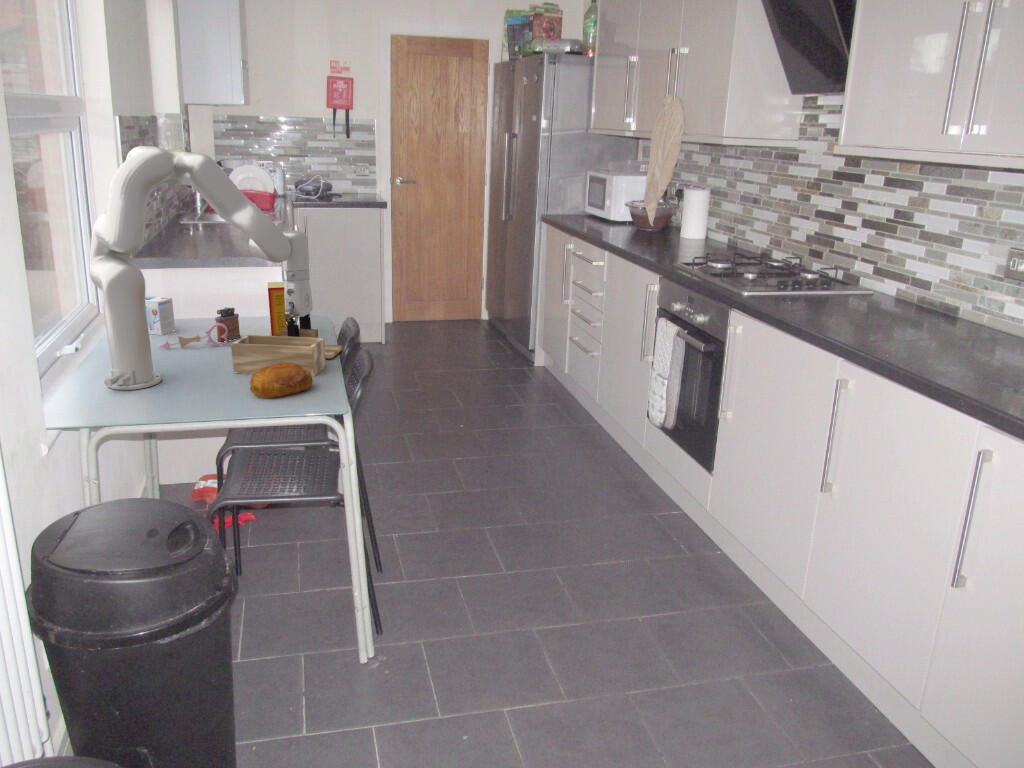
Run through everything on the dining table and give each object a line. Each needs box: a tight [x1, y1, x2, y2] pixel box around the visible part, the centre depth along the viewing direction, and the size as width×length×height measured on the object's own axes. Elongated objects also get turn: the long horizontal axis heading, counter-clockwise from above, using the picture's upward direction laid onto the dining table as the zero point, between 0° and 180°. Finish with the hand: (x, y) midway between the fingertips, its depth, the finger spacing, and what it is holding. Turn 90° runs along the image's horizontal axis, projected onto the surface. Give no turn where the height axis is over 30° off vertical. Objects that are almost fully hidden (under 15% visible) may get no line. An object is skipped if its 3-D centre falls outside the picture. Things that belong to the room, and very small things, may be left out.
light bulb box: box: [145, 295, 176, 336], centre depth 257 cm, size 11×7×11 cm, turn 73°
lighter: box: [214, 307, 242, 343], centre depth 249 cm, size 8×3×10 cm, turn 149°
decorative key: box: [157, 323, 228, 350], centre depth 241 cm, size 7×1×20 cm
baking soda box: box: [267, 281, 287, 336], centre depth 256 cm, size 10×6×16 cm
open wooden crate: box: [230, 334, 327, 378], centre depth 220 cm, size 10×22×8 cm, turn 84°
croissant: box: [249, 362, 314, 399], centre depth 205 cm, size 14×16×8 cm
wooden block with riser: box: [280, 328, 344, 360], centre depth 236 cm, size 10×22×8 cm, turn 84°
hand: (299, 334), depth 235 cm, fingers open, 9 cm apart
